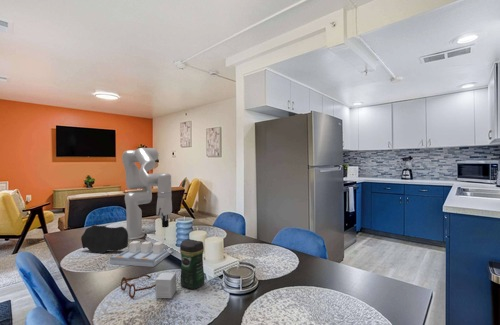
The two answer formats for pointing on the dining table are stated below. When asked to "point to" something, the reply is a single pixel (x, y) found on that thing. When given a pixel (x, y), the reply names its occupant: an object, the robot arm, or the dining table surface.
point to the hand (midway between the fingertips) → (165, 226)
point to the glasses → (134, 285)
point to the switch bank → (139, 258)
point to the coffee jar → (192, 263)
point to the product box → (165, 285)
